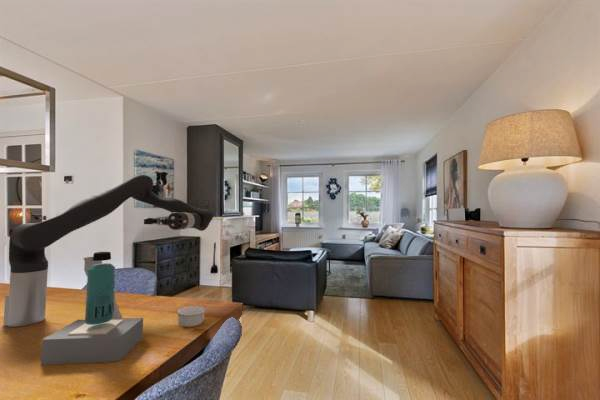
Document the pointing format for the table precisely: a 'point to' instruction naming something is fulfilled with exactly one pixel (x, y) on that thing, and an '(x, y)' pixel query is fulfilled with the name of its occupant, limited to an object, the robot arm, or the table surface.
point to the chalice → (89, 265)
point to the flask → (116, 309)
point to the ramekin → (191, 316)
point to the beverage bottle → (100, 290)
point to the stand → (92, 341)
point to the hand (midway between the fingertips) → (154, 221)
